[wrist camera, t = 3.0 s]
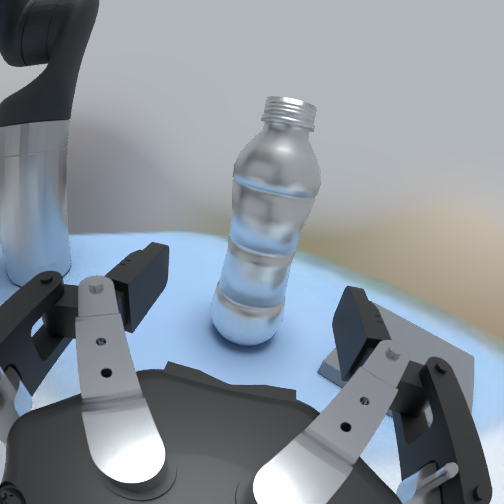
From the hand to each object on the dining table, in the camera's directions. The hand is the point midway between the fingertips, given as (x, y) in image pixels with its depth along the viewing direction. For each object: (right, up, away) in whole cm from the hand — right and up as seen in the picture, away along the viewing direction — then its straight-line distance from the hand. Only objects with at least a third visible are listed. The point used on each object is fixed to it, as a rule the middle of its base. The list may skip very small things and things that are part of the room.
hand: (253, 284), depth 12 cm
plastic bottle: (-1, -6, +13) cm, 15 cm away
